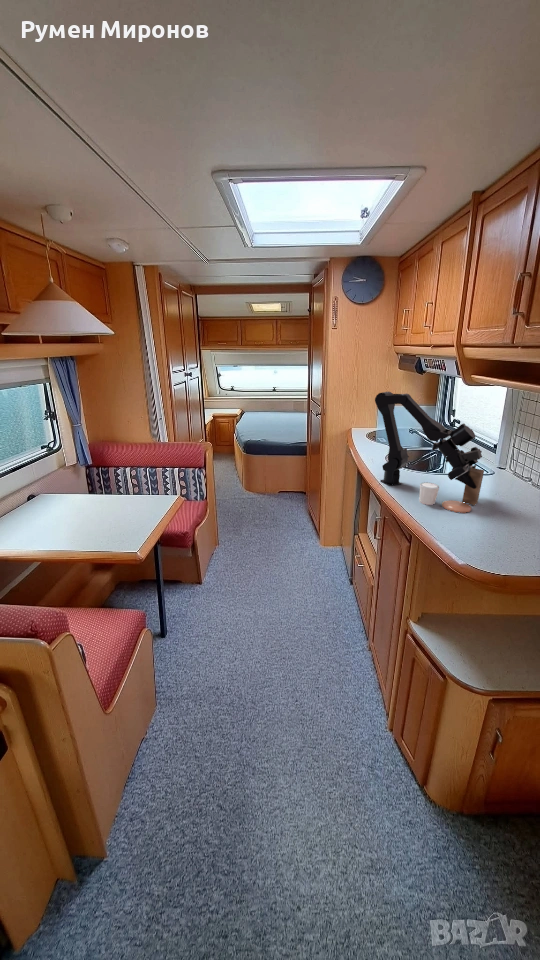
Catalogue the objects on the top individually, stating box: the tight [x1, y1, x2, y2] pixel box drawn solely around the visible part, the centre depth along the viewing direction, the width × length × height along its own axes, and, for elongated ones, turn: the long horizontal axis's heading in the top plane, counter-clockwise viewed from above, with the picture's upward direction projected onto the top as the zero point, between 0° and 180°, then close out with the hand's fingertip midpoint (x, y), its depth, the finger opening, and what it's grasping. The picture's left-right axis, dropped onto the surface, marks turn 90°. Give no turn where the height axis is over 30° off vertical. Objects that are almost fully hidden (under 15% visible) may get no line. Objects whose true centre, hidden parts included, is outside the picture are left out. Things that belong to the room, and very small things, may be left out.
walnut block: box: [461, 467, 485, 506], centre depth 151 cm, size 4×4×13 cm
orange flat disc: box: [441, 500, 472, 514], centre depth 148 cm, size 10×10×1 cm
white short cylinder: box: [418, 481, 440, 506], centre depth 152 cm, size 7×7×7 cm
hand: (477, 486), depth 150 cm, fingers closed on walnut block, 4 cm apart
